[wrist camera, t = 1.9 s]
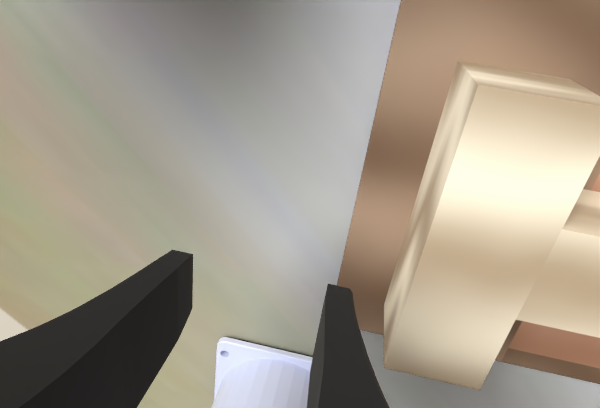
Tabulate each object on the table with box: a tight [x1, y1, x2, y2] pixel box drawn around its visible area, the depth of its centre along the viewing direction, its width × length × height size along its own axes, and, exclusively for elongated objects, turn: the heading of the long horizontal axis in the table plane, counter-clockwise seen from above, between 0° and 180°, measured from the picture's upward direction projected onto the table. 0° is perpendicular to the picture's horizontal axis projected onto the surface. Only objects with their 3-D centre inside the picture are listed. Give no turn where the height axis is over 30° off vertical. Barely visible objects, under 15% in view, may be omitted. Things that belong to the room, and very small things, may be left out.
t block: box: [384, 61, 600, 390], centre depth 17 cm, size 12×12×4 cm
